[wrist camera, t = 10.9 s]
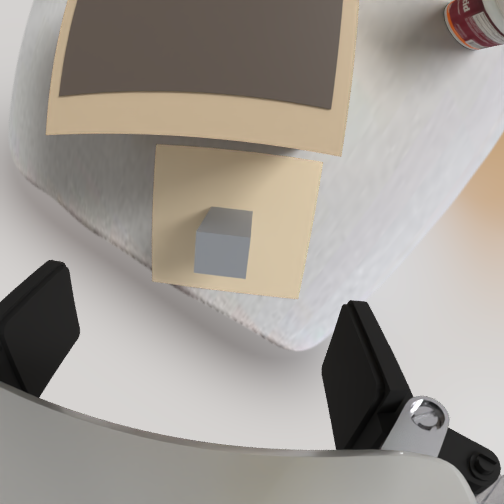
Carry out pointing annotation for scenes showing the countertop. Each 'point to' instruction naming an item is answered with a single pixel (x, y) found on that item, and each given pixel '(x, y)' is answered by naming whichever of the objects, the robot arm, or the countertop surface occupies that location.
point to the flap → (232, 219)
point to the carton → (207, 70)
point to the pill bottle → (476, 22)
